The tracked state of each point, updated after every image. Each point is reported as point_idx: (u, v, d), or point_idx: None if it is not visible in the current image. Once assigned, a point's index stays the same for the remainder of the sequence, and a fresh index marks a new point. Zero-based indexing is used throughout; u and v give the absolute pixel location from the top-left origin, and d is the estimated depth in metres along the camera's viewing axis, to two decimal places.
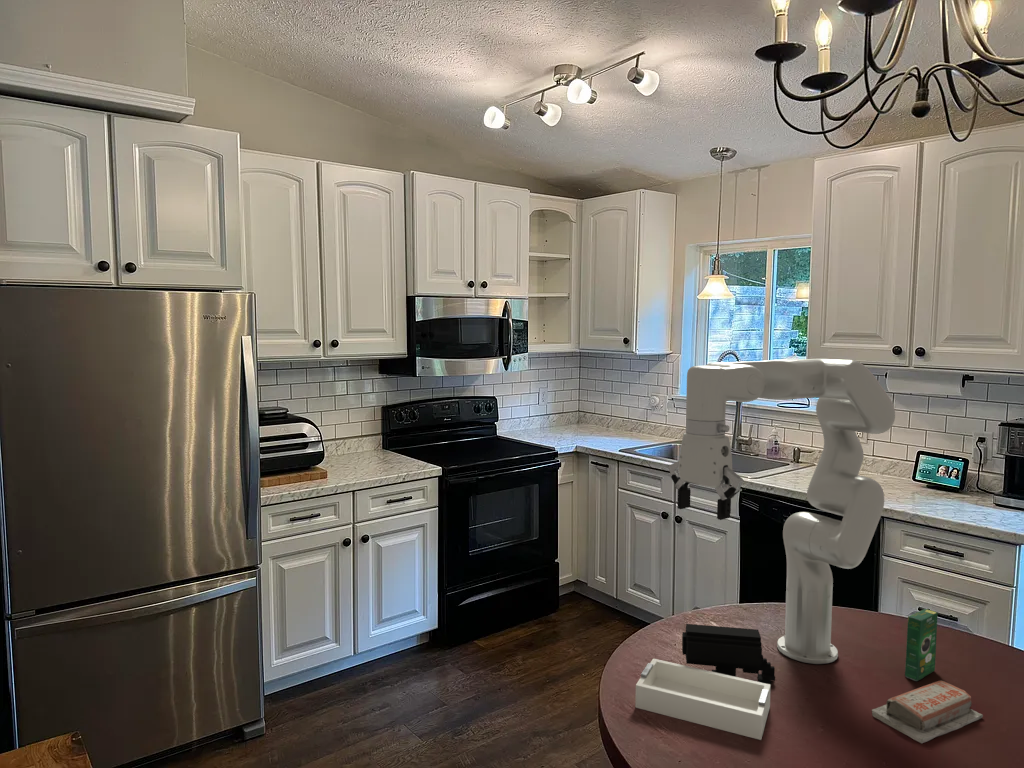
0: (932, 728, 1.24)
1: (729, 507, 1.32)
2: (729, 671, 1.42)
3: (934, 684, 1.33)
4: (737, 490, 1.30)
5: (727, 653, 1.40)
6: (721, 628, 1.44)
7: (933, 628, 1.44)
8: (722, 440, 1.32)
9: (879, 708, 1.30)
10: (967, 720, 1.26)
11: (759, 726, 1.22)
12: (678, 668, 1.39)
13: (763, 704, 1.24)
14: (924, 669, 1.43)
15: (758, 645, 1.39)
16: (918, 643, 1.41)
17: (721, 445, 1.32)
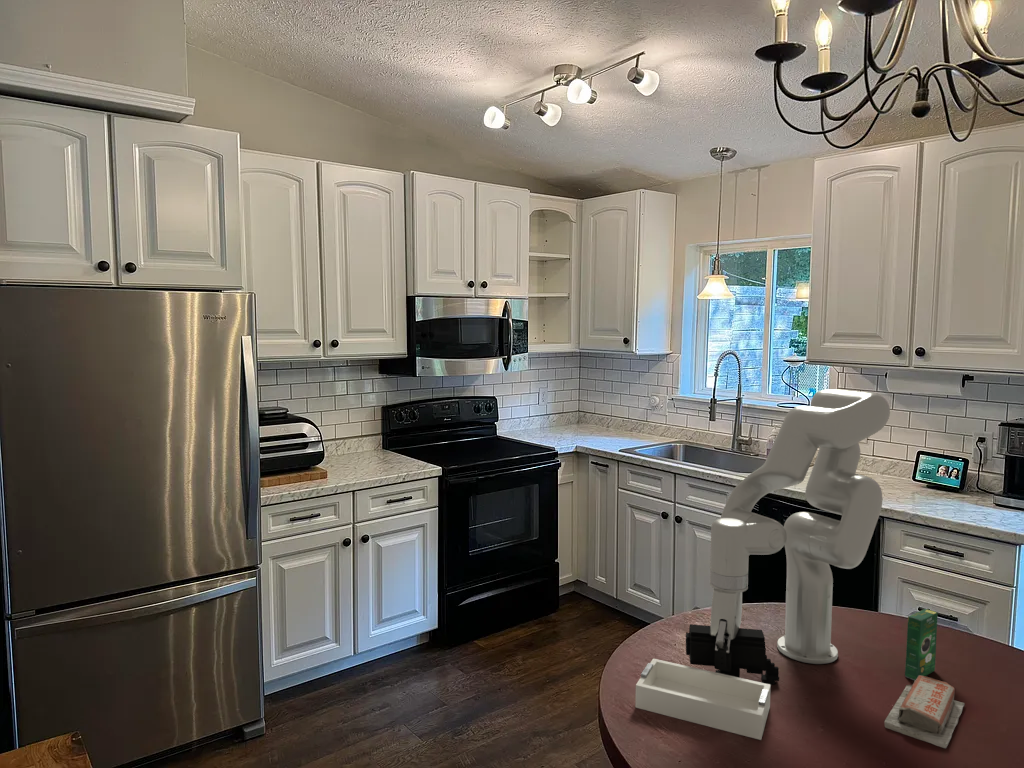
0: (944, 729, 1.23)
1: None
2: (733, 672, 1.42)
3: (919, 681, 1.34)
4: None
5: None
6: None
7: (933, 628, 1.44)
8: None
9: (888, 717, 1.26)
10: (959, 712, 1.29)
11: (759, 726, 1.22)
12: (678, 668, 1.39)
13: (763, 704, 1.24)
14: (924, 669, 1.43)
15: (762, 645, 1.39)
16: (918, 643, 1.41)
17: None
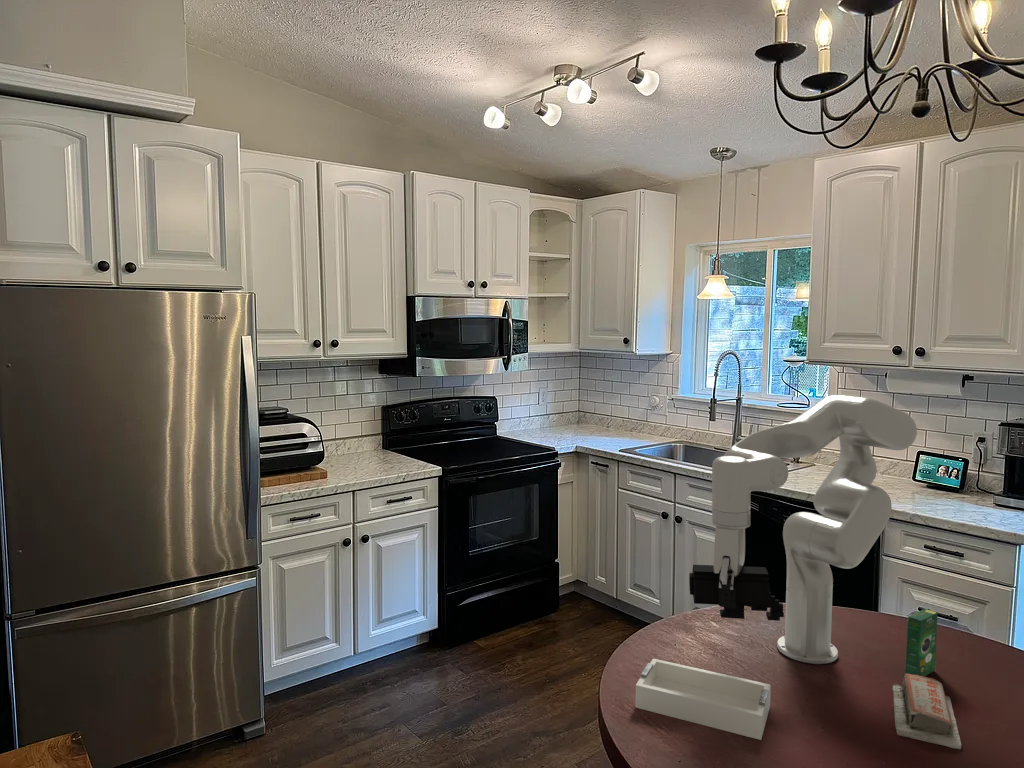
0: None
1: None
2: (738, 610, 1.41)
3: (910, 680, 1.34)
4: None
5: None
6: None
7: (933, 628, 1.44)
8: None
9: (898, 724, 1.24)
10: (951, 707, 1.31)
11: (759, 726, 1.22)
12: (678, 668, 1.39)
13: (763, 704, 1.24)
14: (924, 669, 1.43)
15: (766, 581, 1.38)
16: (918, 643, 1.41)
17: None
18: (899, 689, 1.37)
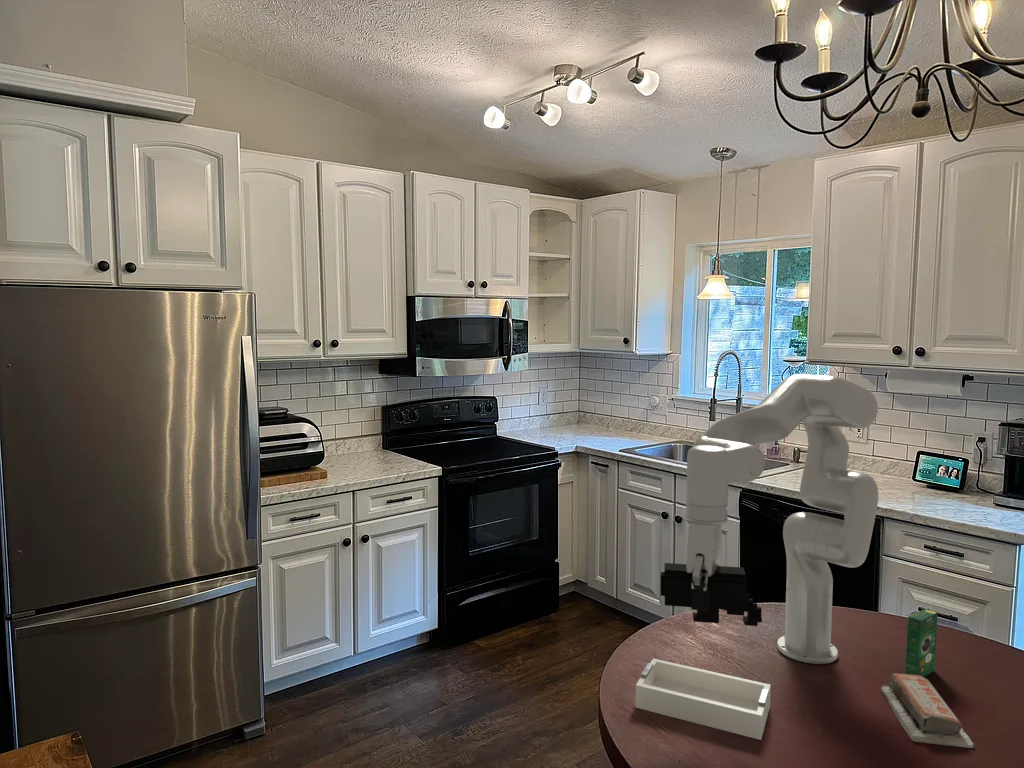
0: None
1: None
2: (712, 613, 1.29)
3: (902, 680, 1.34)
4: None
5: None
6: None
7: (933, 628, 1.44)
8: None
9: (910, 729, 1.23)
10: None
11: (759, 726, 1.22)
12: (678, 668, 1.39)
13: (763, 704, 1.24)
14: (924, 669, 1.43)
15: (743, 582, 1.26)
16: (918, 643, 1.41)
17: None
18: (889, 690, 1.36)
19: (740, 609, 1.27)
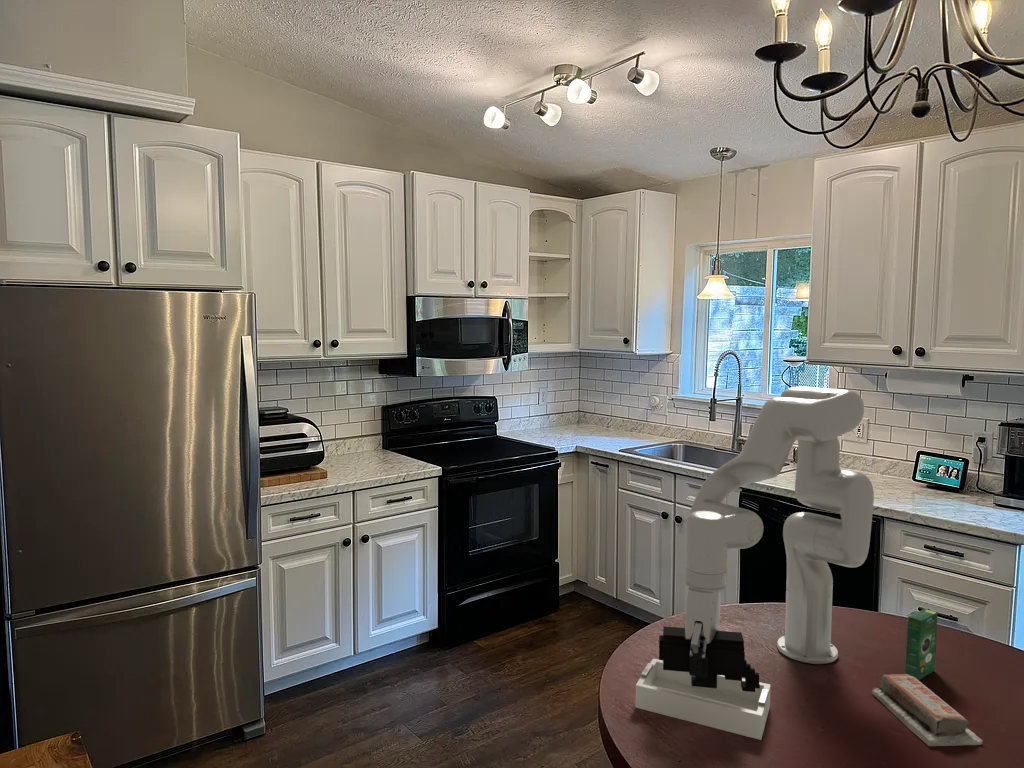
0: None
1: None
2: (710, 678, 1.30)
3: (895, 681, 1.34)
4: None
5: None
6: None
7: (933, 628, 1.44)
8: None
9: (924, 734, 1.21)
10: None
11: (759, 726, 1.22)
12: None
13: (763, 704, 1.24)
14: (924, 669, 1.43)
15: (741, 649, 1.27)
16: (918, 643, 1.41)
17: None
18: (882, 693, 1.35)
19: (738, 675, 1.28)
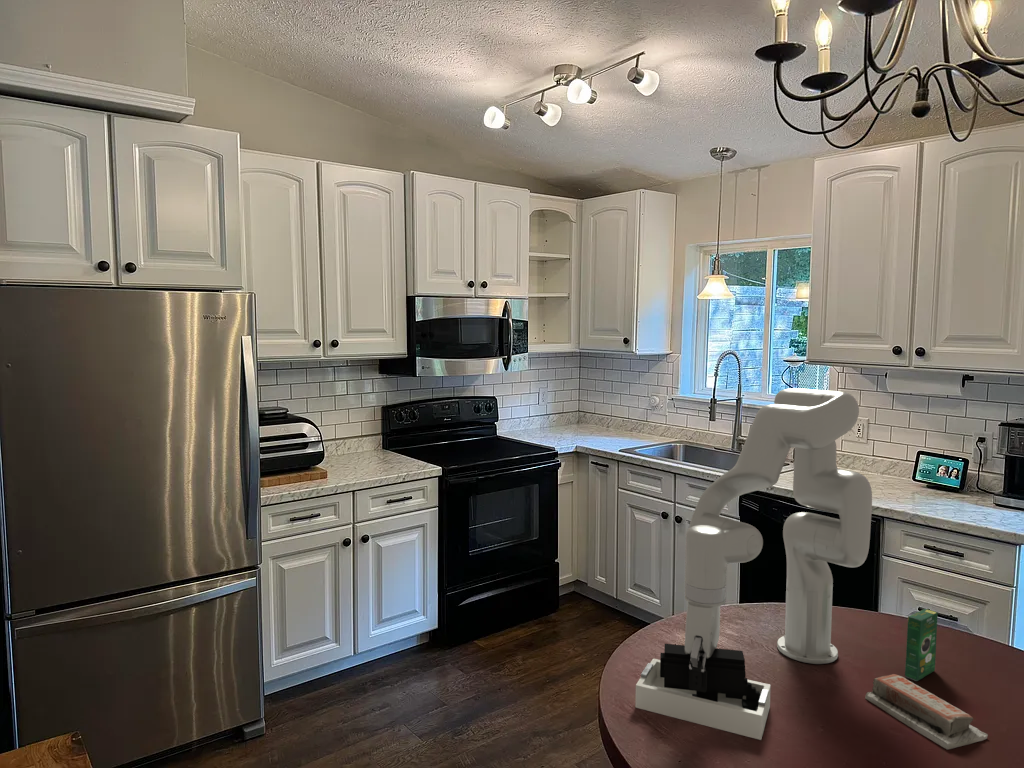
0: None
1: None
2: (711, 696, 1.31)
3: (890, 684, 1.33)
4: None
5: (707, 677, 1.28)
6: None
7: (933, 628, 1.44)
8: None
9: (939, 737, 1.20)
10: None
11: (759, 726, 1.22)
12: None
13: (763, 704, 1.24)
14: (924, 669, 1.43)
15: (741, 668, 1.27)
16: (918, 643, 1.41)
17: None
18: (876, 697, 1.34)
19: (739, 694, 1.29)
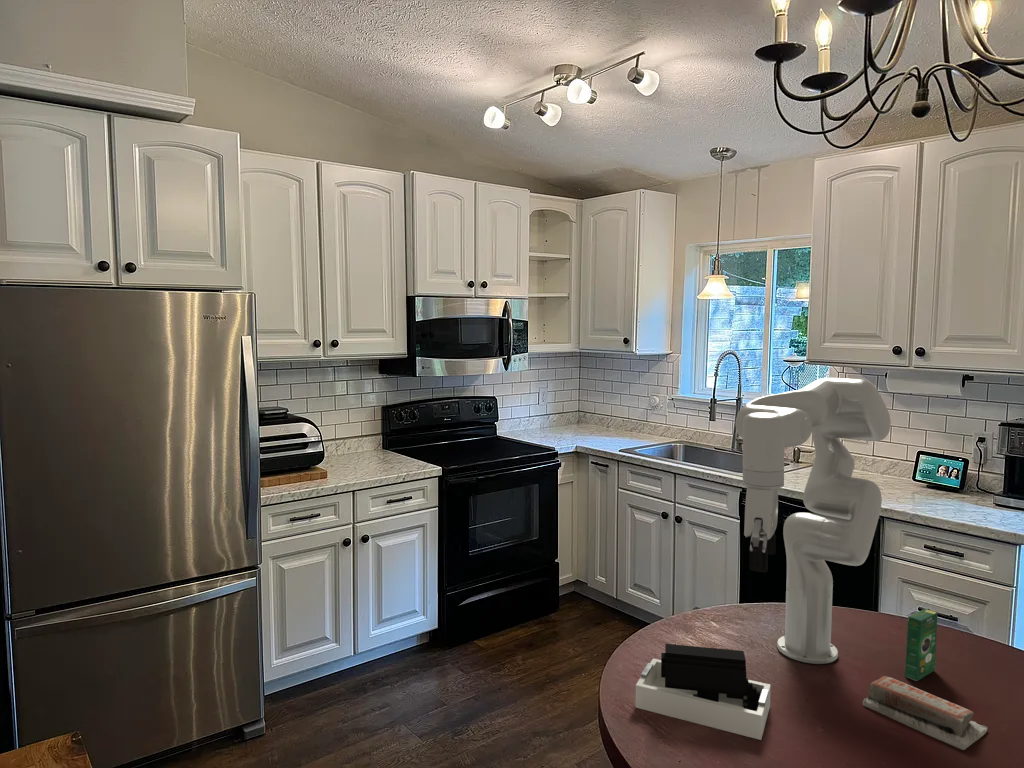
0: None
1: None
2: (712, 697, 1.31)
3: (888, 688, 1.31)
4: None
5: (708, 677, 1.28)
6: (703, 649, 1.32)
7: (933, 628, 1.44)
8: None
9: (954, 738, 1.20)
10: None
11: (759, 726, 1.22)
12: None
13: (763, 704, 1.24)
14: (924, 669, 1.43)
15: (742, 668, 1.27)
16: (918, 643, 1.41)
17: None
18: (875, 702, 1.32)
19: (740, 694, 1.29)
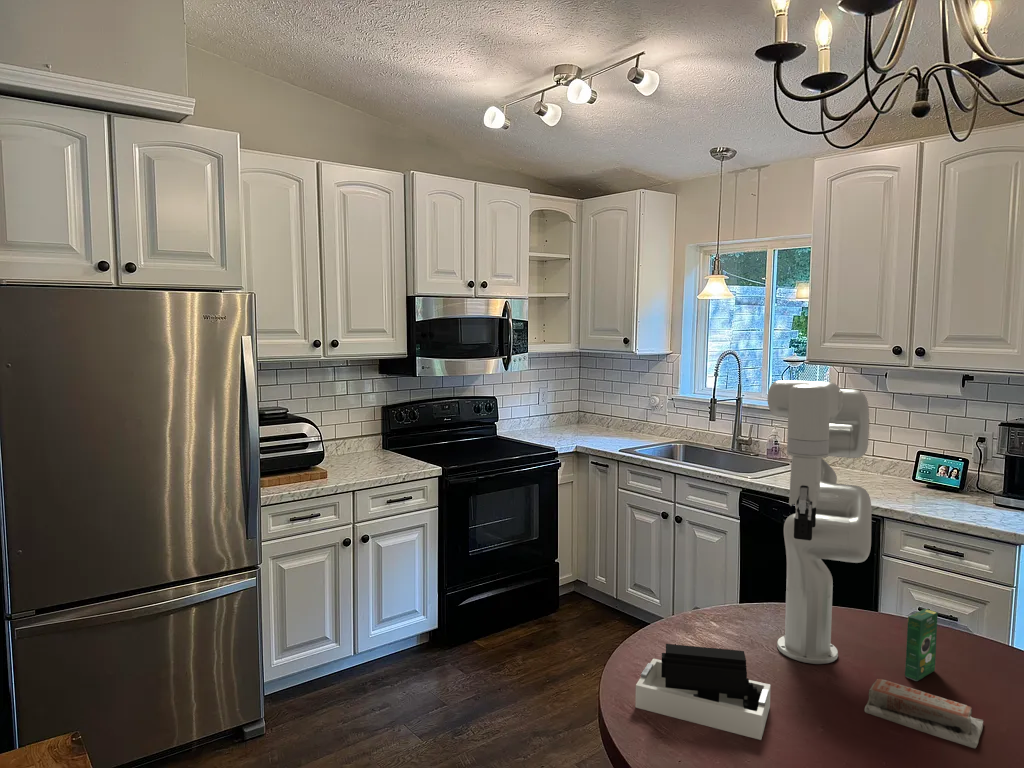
0: None
1: None
2: (712, 697, 1.31)
3: (889, 692, 1.30)
4: None
5: (709, 677, 1.28)
6: (703, 649, 1.32)
7: (933, 628, 1.44)
8: None
9: (964, 738, 1.20)
10: None
11: (759, 726, 1.22)
12: None
13: (763, 704, 1.24)
14: (924, 669, 1.43)
15: (743, 669, 1.27)
16: (918, 643, 1.41)
17: None
18: (877, 708, 1.30)
19: (740, 694, 1.29)
